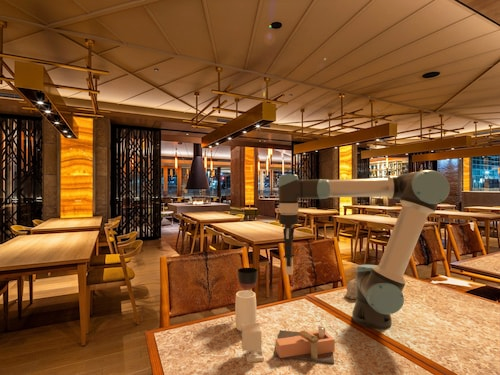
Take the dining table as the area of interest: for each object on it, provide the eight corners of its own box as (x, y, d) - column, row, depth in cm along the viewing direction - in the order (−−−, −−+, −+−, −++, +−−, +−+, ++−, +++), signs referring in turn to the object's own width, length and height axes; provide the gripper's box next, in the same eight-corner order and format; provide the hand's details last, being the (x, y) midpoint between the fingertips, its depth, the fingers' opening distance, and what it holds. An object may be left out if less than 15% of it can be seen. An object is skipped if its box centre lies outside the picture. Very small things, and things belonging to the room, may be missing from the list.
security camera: (241, 352, 95) (241, 322, 95) (261, 351, 96) (261, 321, 96) (242, 363, 89) (242, 332, 89) (264, 362, 90) (264, 331, 90)
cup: (259, 326, 113) (259, 291, 113) (252, 336, 105) (252, 299, 105) (239, 323, 116) (239, 289, 116) (231, 333, 108) (231, 296, 108)
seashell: (377, 301, 137) (376, 281, 137) (348, 301, 138) (347, 281, 138) (368, 292, 149) (368, 274, 149) (341, 292, 150) (341, 273, 150)
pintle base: (330, 338, 103) (330, 318, 103) (334, 367, 87) (334, 343, 87) (279, 333, 108) (279, 313, 108) (273, 359, 91) (273, 336, 91)
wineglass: (256, 320, 118) (255, 273, 118) (236, 318, 120) (235, 272, 120) (259, 312, 126) (258, 268, 126) (240, 310, 127) (240, 267, 127)
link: (324, 341, 100) (324, 329, 100) (334, 351, 93) (334, 339, 93) (274, 348, 95) (274, 337, 95) (281, 360, 89) (281, 347, 89)
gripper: (280, 212, 117) (281, 268, 116) (277, 215, 104) (277, 278, 104) (299, 212, 115) (299, 269, 115) (297, 215, 102) (297, 279, 102)
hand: (289, 273), depth 109 cm, fingers closed
